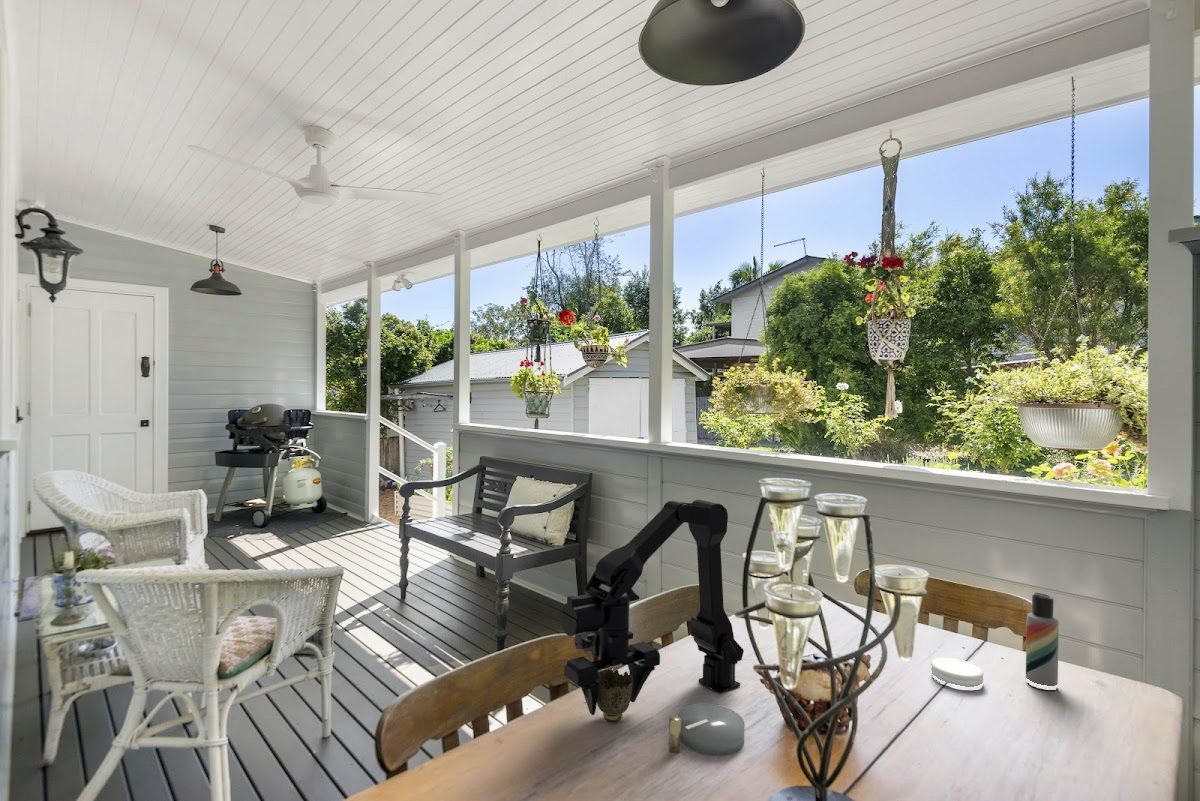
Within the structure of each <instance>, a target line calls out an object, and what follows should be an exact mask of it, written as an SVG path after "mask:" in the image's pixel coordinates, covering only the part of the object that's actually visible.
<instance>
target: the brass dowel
mask: <svg viewBox="0 0 1200 801" xmlns="http://www.w3.org/2000/svg"><path fill="white" fill-rule="evenodd" d="M680 734H681V718H680V717H678V716H677V715H670V716H669V717H668V751H669V753H671V754H672V755H673V754H674V755H676V754H680V752H681V742H680Z"/></svg>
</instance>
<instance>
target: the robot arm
mask: <svg viewBox="0 0 1200 801" xmlns="http://www.w3.org/2000/svg"><path fill="white" fill-rule="evenodd" d="M728 514H729V513H728V510H727V508H726V507H725V506H724V505H723V504H721V503H718V502H712V501H708V500H705V499H704V500H703V499H694V500H693V501H692V502H685V501H683V502H682V501H677V500H668V501H667V502H665V503H664V505H663V508H662V509H661V510H660V511H659V512H658V513H657V514H656V515H655V516H654V517H653V518H652V519H651V520H650V521H649V522H648V523H647V524H646V525H645V526H644V527H642V528H641V530H640V531H638V533H636V535H635V536H634V537H633V538H632V539H631V540H630V541H629V542H628V543H626V544H625V545H623V546H621V547H618V548H616V549H614V550H611V551H610V552H608V553H607V554H606V555H605V556H603V557H602V558H601V559H599V560H598V562H597V563H596V565H595V569H594V572H593V573H592V575H591V577H590V578H589V580H588V582H587V584H586V585H585V587H584V589H583V593H585V594H581V595H570V596H567V597H566V603H565V604H564V605H563V606H562V608H561V612H560V622H561V626H562V630H563V632H564V633H565V635H567V636H568V637H574V645H575V649H576V650H577V651H578V650H579V651H580V650H583V654H584V653H585V654H586V653H588V652H591V656H593V657H595V658H596V657H597V658H598V660H594V661H590V660H589V659H588V658H587V657H584V656H580V657H576V658H575V657H574V658H573V659H572V658H571V659H569V660H567V661H566V662H565V663H564V666H563V667H564V668H563V676H565V677H566V678H567V679H568V680H570V681H571V682H572V683H573V684H575V685H576V686H577V687H580V689H581V691H582V693H583V695H584V700H585V703H586V705H587V709H588V712H589V714H590V715H591V716H594V715H595V713H596V711H597V706H598V705H597V697H598V690H599V683H597V682H596V680H597V679H598V674H599V672H600V673H601V671H602V672H604V671H607V670H608V669H610V670H612V669H614V668H618V667H621V666H625V665H627V668H628V671H629V673H628V675H630V674H632V679H633V680H632V681H633V685H632V693H631V699H630V703H632V704H633V703H635V702H636V700H637V698H638V696H639V694H640V692H641V690H642V688H643V686H644V684H645V683H646V681H647V680H648V678H649V676H650V675H651V673H652V672H653V671H655V669H656V667H657V666H660V665H661V653H660V652H659V650H658V648H656V647H655V646H653V645H651V644H649V643H647V642H645V641H640V642H636V643H632V644H630V640H633V639H634V632H631V631H630V606H631V605H630V603H631V602H635V601H639V600H640V596H639V595H638V594H637V593H636V592H635V591H634V589H633V588H634V586H635V585H636V584H637V582H638V580H639V579H640V578H641V577H642V574H643V570H644V565H645V564H646V563H647V561H648V560H649V559H650V558H651V557H652V556H653V555H654V554H655V553H656V552H657V551H659V550H658V549H660V547H661V546H662V545H664V544H665V542H666V541H667V540H668V539H670V537H671V536H672V535H673V534H674V533H675V532H676V531H677V530H678V529H679V528H680V527H681V526H682V525H683V524H684V523H685V524H688V529H689V532H690V533H691V535H692V537H693V539H694V541H695V543H696V553H697V554H696V555H697V571H698V572H697V574H698V594H699V609H698V613H697V614H696V615H695V616H693V617H691V618H690V624H691V633H690V636H691V637H692V639H693V641H694V643H695V644H696V646H697V650H698V651H699V652H701V653H704V656H703V658H704V659H703V664H702V677H701V678H698V682H699V683H700V684H702V685H704V686H706V687H707V688H709V689H711V690H713V691H715V692H716V693H718V694H722V693H724V692H727V691H730V690H733V689H736V688H740V687H741V683H740V682H739V681H737V680H736V664H738V662H741V661H742V660H743V655H744V652H745V650H744V649H743V647H741V645H740V644H739V643H738V642H737V641H736V639H735V636H734V632H733V631H734V630H733V629H734V628H733V625H732V622H731V620H730V618H729V617H728V614H727V612H726V611H725V608H724V607H725V606H724V588H723V572H722V571H723V570H722V568H723V567H722V566H723V565H722V552H721V551H722V550H721V548H722V547H721V546H722V545H721V544H722V541H723V539H724V538H725V536H726V534H727V532H728V520H729V515H728ZM601 586H602V587H604V588H607V589H608V591H607V590H605V589H603V588H601ZM592 632H593V633H592Z"/></svg>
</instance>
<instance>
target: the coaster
mask: <svg viewBox="0 0 1200 801" xmlns="http://www.w3.org/2000/svg"><path fill="white" fill-rule="evenodd" d="M930 663H931V664H930V665H931V667H930V670H931V672H932V674H933V675H934V676H936V677H937V678H938V679H940V680H942V681H945V682H947V683H951V684H955V685H960V686H965V687H974V686H978V685H980V684H982V683H983V684H984V672H983V671H982V669H981V668H980V667H979V666H977V665H975V663H971V662H968V661H966V660H962V659H957V658H954V657H936V658H934V659H933V660H932V661H931V662H930Z"/></svg>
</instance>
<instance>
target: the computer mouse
mask: <svg viewBox="0 0 1200 801" xmlns="http://www.w3.org/2000/svg"><path fill="white" fill-rule="evenodd" d="M676 716H678V717H680V718H681V734H680V744H682V745H684V746H685V747H686V748H688V750H689V749H690V750H691V751H693V752H695V753H699V754H702V755H706V756H714V757H716V756H717V757H718V756H719V757H720V756H723V757H724V756H727V755H733V754H735V753H737V752H738V751H740V750H741V749H742V748H743V747H744V745H745V730H746V729H745V728H746V724H745V721H744V719H743V717H742V716H741V715H740V713H738V712H736V711H735V710H733V709H731V708H729V707H727V706H723V705H719V704H714V703H708V702H707V703H705V702H703V703H702V702H701V703H692V704H689V705H686V706H684V707H682V708H681V709H680V710H679V711H678V712H677V715H676Z"/></svg>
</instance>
